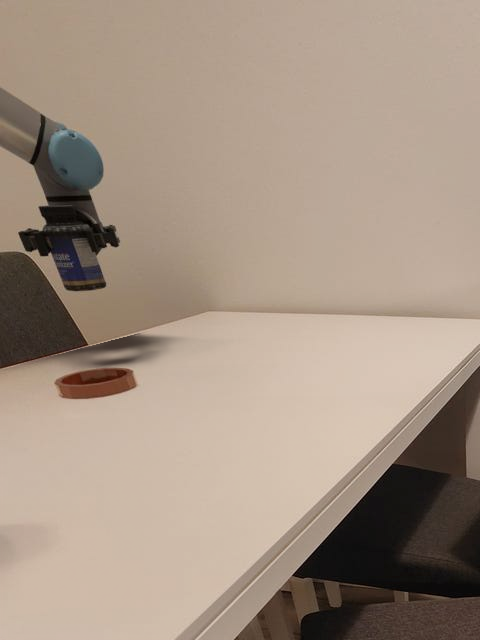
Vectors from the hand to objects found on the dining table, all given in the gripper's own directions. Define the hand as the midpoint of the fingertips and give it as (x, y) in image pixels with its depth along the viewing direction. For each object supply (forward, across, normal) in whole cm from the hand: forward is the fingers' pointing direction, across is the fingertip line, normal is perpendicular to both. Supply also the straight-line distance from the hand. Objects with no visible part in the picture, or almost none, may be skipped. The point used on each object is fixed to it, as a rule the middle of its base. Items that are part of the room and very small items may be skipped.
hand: (65, 242), depth 88 cm
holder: (+21, +1, -18) cm, 28 cm away
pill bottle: (-5, 0, -7) cm, 8 cm away
